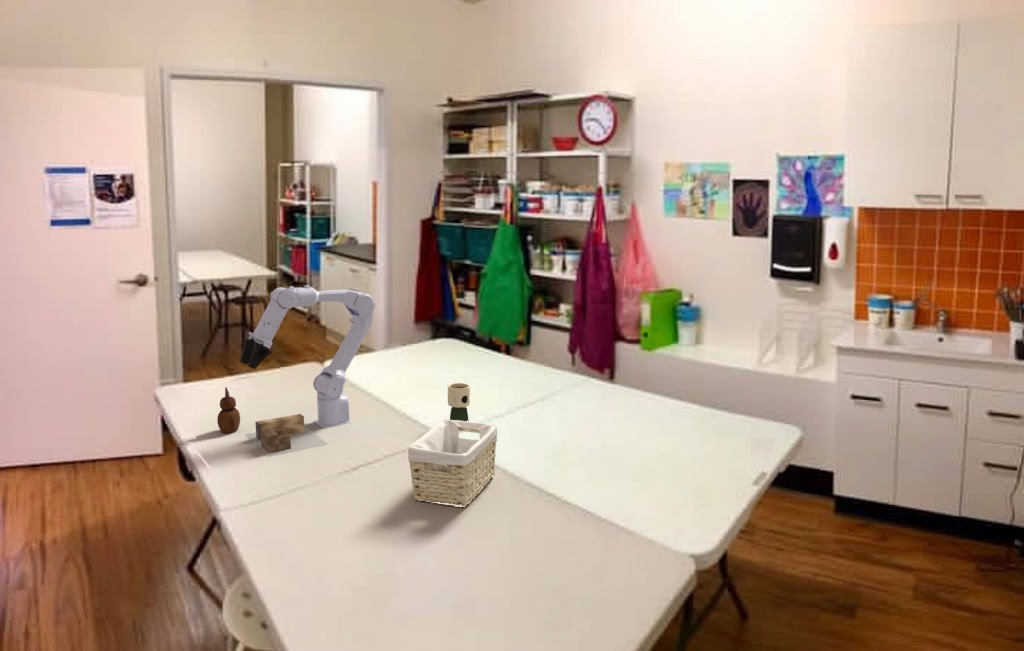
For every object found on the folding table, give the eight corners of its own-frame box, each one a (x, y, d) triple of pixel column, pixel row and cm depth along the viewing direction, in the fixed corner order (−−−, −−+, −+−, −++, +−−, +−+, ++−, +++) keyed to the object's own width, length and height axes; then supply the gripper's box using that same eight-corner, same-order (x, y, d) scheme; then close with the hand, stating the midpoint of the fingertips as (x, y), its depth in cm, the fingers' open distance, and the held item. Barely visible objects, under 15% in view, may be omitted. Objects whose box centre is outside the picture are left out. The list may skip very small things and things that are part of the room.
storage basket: (466, 512, 191) (466, 454, 188) (405, 503, 196) (404, 446, 193) (499, 476, 213) (499, 424, 210) (444, 468, 218) (443, 417, 215)
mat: (302, 425, 252) (302, 424, 252) (328, 445, 235) (328, 444, 235) (245, 435, 242) (245, 434, 242) (268, 457, 225) (268, 456, 225)
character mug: (461, 431, 248) (461, 391, 245) (441, 428, 250) (440, 388, 248) (476, 421, 258) (476, 382, 255) (456, 418, 260) (456, 380, 258)
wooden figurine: (232, 436, 242) (229, 389, 239) (215, 435, 243) (211, 388, 240) (244, 429, 248) (241, 383, 245) (227, 428, 249) (224, 382, 246)
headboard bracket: (283, 441, 236) (282, 425, 235) (291, 448, 231) (290, 432, 230) (261, 445, 233) (260, 429, 232) (268, 453, 227) (267, 436, 226)
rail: (301, 429, 248) (300, 413, 247) (304, 431, 245) (303, 416, 244) (256, 437, 240) (255, 421, 239) (259, 440, 237) (258, 424, 236)
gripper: (249, 315, 240) (228, 355, 238) (265, 321, 228) (242, 364, 226) (270, 325, 244) (249, 365, 242) (286, 332, 232) (264, 374, 230)
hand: (247, 365), depth 234 cm, fingers open, 7 cm apart
